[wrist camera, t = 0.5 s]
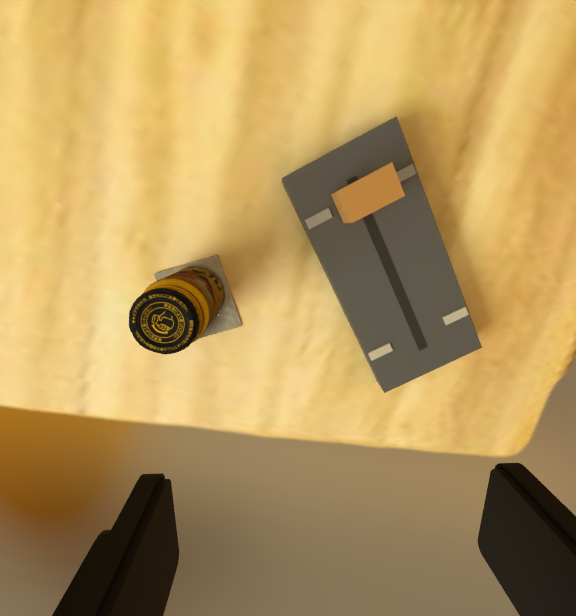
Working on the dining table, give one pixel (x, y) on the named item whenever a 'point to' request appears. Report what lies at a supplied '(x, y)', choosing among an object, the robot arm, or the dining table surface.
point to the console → (385, 260)
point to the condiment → (183, 307)
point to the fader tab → (368, 194)
